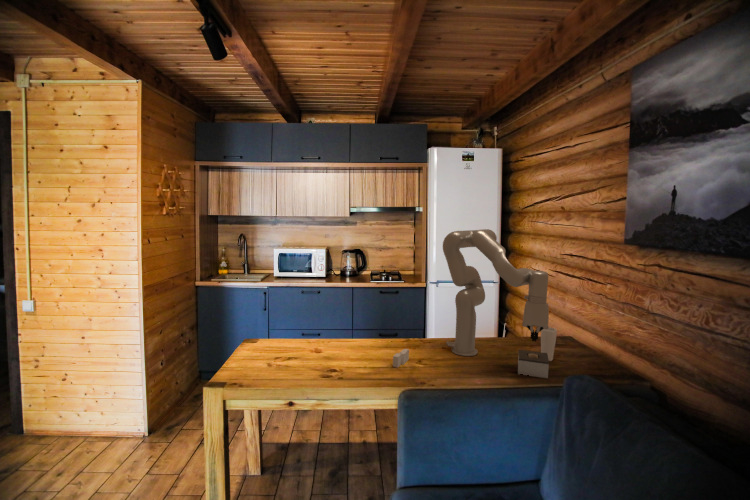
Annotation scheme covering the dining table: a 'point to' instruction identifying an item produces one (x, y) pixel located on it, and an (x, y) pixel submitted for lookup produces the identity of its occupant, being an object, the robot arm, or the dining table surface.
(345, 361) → the dining table surface
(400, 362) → the grey grooved block
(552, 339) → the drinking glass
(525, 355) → the collar block
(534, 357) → the peg
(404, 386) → the dining table surface
